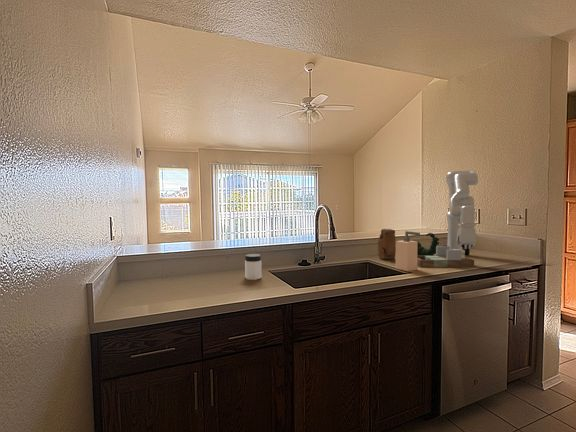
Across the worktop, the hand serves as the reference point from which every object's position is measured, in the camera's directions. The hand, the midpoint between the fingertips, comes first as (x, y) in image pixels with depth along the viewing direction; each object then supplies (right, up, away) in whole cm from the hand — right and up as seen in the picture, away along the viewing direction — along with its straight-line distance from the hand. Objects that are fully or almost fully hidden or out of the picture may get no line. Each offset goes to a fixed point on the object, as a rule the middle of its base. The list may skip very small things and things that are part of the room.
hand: (466, 255), depth 199 cm
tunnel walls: (-11, -2, 0) cm, 11 cm away
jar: (-129, -8, -31) cm, 133 cm away
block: (-44, -5, +19) cm, 48 cm away
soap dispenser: (-41, -7, -14) cm, 43 cm away
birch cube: (-5, -2, 0) cm, 5 cm away
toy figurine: (-19, -5, +23) cm, 30 cm away
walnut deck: (-15, -6, +1) cm, 16 cm away
